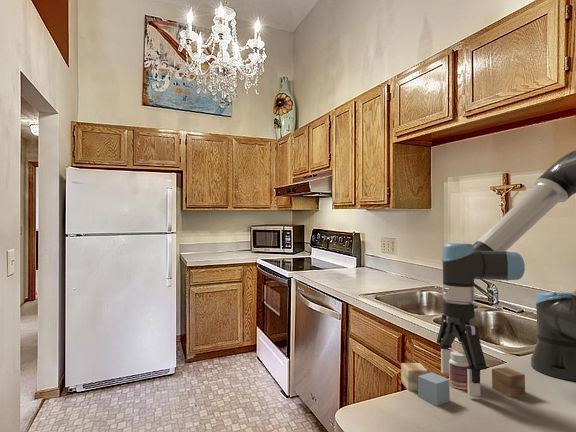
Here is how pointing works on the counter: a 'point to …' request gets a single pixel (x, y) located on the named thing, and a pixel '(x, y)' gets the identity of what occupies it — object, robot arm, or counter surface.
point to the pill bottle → (458, 370)
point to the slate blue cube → (433, 388)
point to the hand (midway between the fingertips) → (459, 383)
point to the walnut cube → (508, 381)
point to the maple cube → (411, 374)
